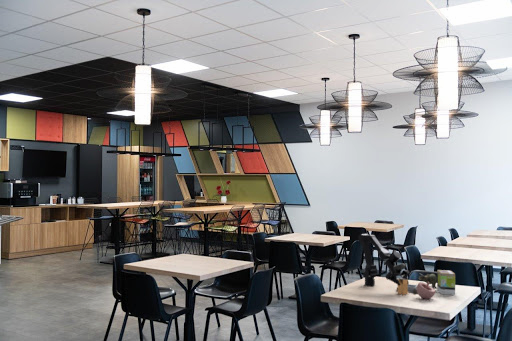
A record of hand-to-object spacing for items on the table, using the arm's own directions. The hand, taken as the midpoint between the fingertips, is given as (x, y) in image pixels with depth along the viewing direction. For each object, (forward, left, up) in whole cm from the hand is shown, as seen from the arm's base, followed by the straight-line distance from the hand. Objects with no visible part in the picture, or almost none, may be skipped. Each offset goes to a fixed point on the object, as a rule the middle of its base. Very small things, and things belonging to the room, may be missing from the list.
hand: (404, 284), depth 332 cm
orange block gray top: (-1, +1, -7) cm, 7 cm away
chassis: (+1, +15, -7) cm, 16 cm away
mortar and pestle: (+16, -5, -7) cm, 18 cm away
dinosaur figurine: (+12, +35, -7) cm, 37 cm away
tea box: (+24, +23, -7) cm, 34 cm away
